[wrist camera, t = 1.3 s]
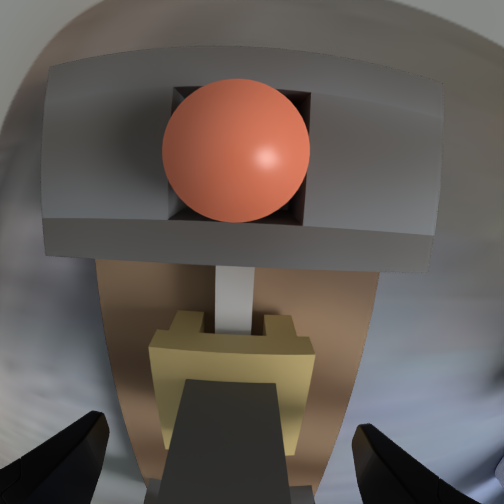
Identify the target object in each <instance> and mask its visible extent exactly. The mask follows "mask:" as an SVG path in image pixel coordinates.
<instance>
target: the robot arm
mask: <svg viewBox="0 0 504 504" xmlns="http://www.w3.org/2000/svg"><path fill="white" fill-rule="evenodd" d="M109 433H110V431H109V426H108V423H107V420H106V417H105V415H104V413H102V412H98V411H90V412H89V413H87V414H86V415H84V416H83V417H81V418H80V419H78V420H77V421H75V422H74V423H72V424H71V425H69V426H68V427H66V428H65V429H63V430H62V431H60V432H59V433H57V434H56V435H54V436H53V437H51V438H50V439H48V440H47V441H45V442H44V443H42V444H41V445H39V446H38V447H36V448H34V449H33V450H31V451H30V452H28V453H27V454H25V455H24V456H22V457H21V459H20V458H19V459H17V460H15V461H14V462H12V463H11V464H9V465H7V466H5V467H4V468H2V469H0V504H90V503H91V500H92V497H93V494H94V491H95V488H96V485H97V482H98V479H99V476H100V473H101V470H102V466H103V461H104V456H105V452H106V447H107V443H108V439H109ZM352 451H353V458H354V464H355V471H356V477H357V483H358V487H359V491H360V494H361V498H362V501H363V504H481V503H479V502H477V501H475V500H474V499H472V498H470V497H468V496H466V495H465V494H463V493H461V492H460V491H458V490H456V489H455V488H453V487H452V486H451V485H449V484H448V483H446V482H445V481H444V480H442V479H441V478H440V479H439V477H438V476H437V475H435V474H434V473H433V472H431V471H430V470H429V469H428V468H426V467H425V466H424V465H422V464H421V463H420V462H418V461H417V460H416V459H415V458H413V457H412V456H411V455H409V454H408V453H407V452H406V451H404V450H403V449H402V448H401V447H399V446H398V445H397V444H395V443H394V442H393V441H392V440H390V439H389V438H388V437H387V436H386V435H384V434H383V433H382V432H381V431H379V430H378V429H377V428H376V427H374V426H373V425H372V424H370V423H367V424H360V425H358V427H357V429H356V431H355V434H354V437H353V439H352Z"/></svg>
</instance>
